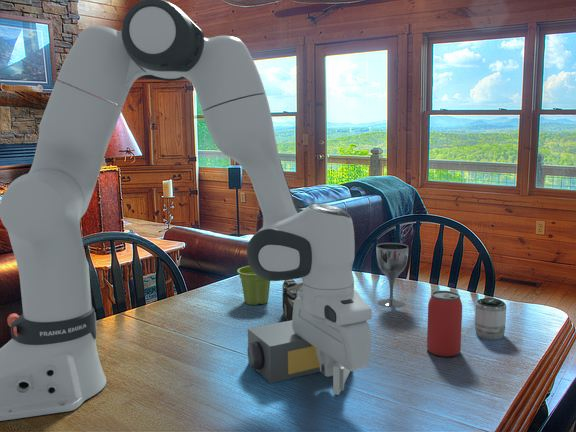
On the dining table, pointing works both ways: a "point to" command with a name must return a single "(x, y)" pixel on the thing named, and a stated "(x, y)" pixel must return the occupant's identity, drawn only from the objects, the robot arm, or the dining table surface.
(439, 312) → the beer can
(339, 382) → the side door
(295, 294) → the camera
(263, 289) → the plant pot
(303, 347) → the block
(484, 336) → the camera lens
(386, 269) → the wine glass
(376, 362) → the dining table surface
